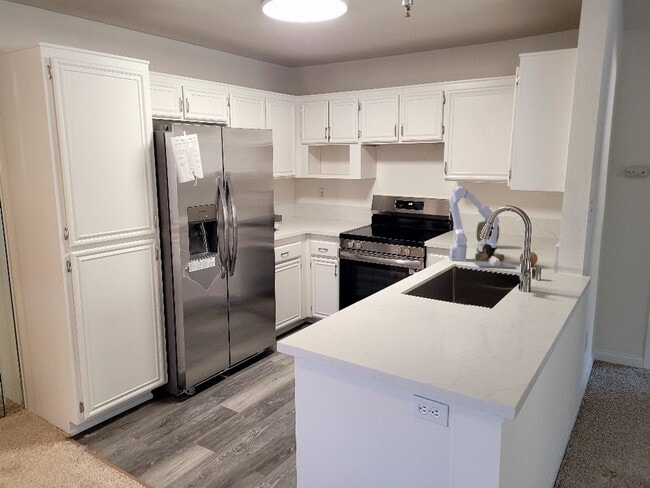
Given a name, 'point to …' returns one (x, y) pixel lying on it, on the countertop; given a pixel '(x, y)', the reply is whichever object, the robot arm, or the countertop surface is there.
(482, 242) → the gun
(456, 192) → the robot arm
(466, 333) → the countertop surface
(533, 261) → the onion
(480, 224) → the tabletop clock
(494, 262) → the stand
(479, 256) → the bar
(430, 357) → the countertop surface
